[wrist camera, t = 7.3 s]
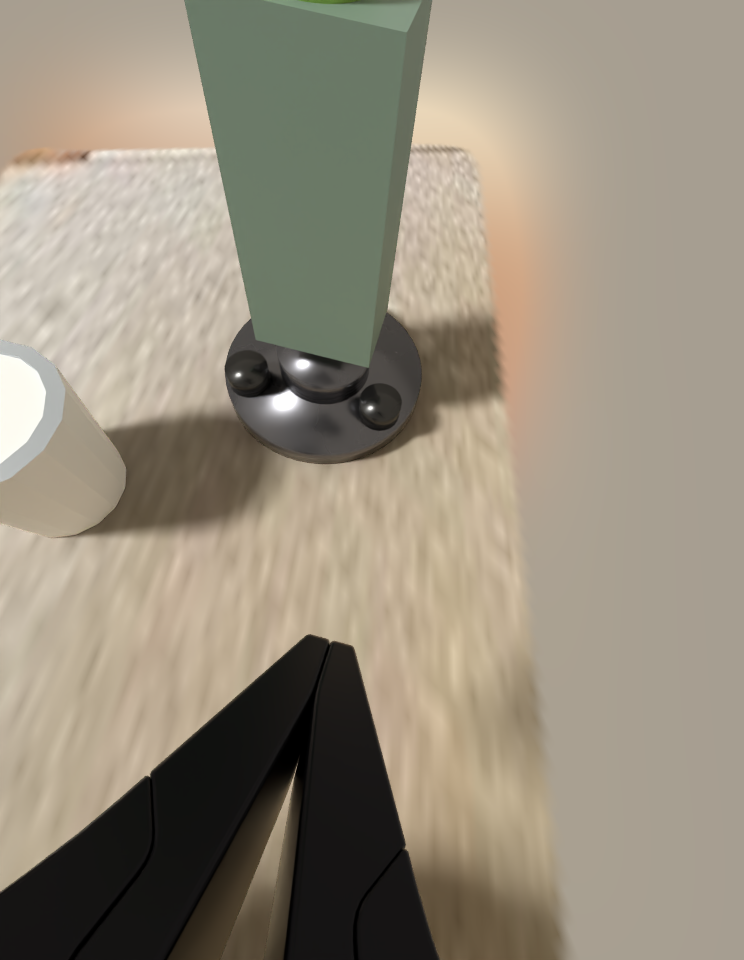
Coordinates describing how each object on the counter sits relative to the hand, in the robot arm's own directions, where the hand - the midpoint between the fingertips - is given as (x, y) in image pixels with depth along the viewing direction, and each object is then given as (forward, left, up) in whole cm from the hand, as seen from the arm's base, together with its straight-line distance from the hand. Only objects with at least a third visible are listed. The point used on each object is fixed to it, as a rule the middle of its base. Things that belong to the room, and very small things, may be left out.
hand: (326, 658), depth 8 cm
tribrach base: (+14, +8, -14) cm, 21 cm away
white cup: (+2, +16, -14) cm, 21 cm away
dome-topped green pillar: (+14, +8, -11) cm, 19 cm away
